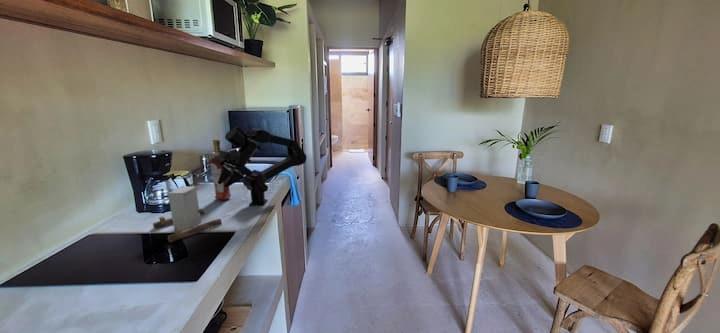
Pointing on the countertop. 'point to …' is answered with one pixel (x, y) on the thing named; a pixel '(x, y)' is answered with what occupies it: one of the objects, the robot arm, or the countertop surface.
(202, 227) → the guide track
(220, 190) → the red white cylinder
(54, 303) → the countertop surface
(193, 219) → the skincare box
